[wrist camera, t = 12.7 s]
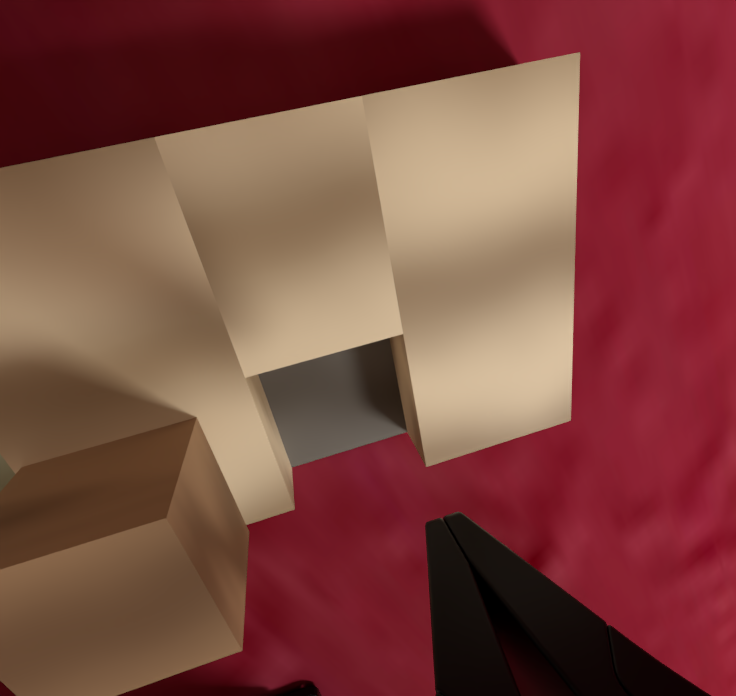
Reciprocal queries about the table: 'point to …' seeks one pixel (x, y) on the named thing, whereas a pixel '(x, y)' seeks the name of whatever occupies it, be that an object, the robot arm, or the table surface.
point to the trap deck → (301, 281)
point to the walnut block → (120, 566)
